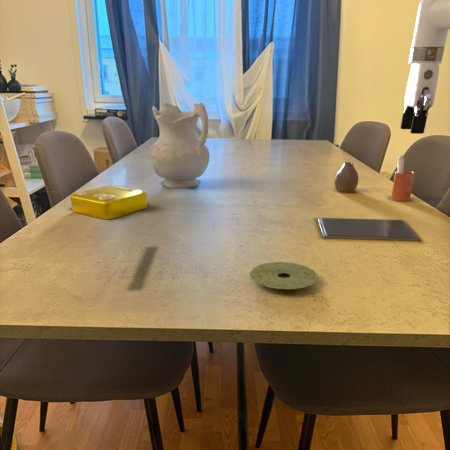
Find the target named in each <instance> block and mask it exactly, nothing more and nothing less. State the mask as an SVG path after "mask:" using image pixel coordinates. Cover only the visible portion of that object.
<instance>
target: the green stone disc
mask: <svg viewBox="0 0 450 450" xmlns="http://www.w3.org/2000/svg"><path fill="white" fill-rule="evenodd" d="M249 277H250V279H251V280H252V281H254V282H255V283H257V284H259V285H261V286H263V287H266V288H271V289H276V290H297V289H303V288H307V287H310V286H311V285H314V284H315V283H316V282H317V281H318V277H319V276H318V274H317V272H316V271H315V270H314V269H312V268H310V267H307V266H305V265H303V264H300V263H299V264H298V263H295V262H287V261H276V262H275V261H274V262H267V263H261V264H259V265H257V266H255V267H253V268H252V269H251V271H250V273H249Z"/></svg>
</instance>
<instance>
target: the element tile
mask: <svg viewBox="0 0 450 450" xmlns="http://www.w3.org/2000/svg"><path fill="white" fill-rule="evenodd" d="M69 198H70V204H71V208H72V209H71V210H72V212H73V213H76V214H81V215H85V216H89V217H93V218H98V219H100V220H101V219H102V220H114V219H117V218H120V217H123V216H127V215H130V214H132V213H133V214H134V213H136V212H139V211H142V210H145V209H147V208H148V199H147V198H148V197H147V192H146V190H141V189H137V188H129V187H126V186H118V185H112V184H108V185H103V186H100V187H96V188H92V189H88V190H84V191H80V192H75V193H72V194H70V197H69Z"/></svg>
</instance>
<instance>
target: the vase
mask: <svg viewBox="0 0 450 450" xmlns="http://www.w3.org/2000/svg"><path fill="white" fill-rule="evenodd" d="M333 182H334V188H335V190H336V192H338V193H344V194H351V193H354V192H355V191H356V189H357V188H358V185H359V174H358V171H357V169H356V168H355V166H354V163H353V162H349V161H345V162H344V163H343V164H342V166H341V167H340V168H339V169H338V171H337V172H336V173H335V177H334V181H333Z"/></svg>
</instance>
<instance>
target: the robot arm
mask: <svg viewBox="0 0 450 450" xmlns="http://www.w3.org/2000/svg"><path fill="white" fill-rule="evenodd" d="M449 30H450V0H420V2H419V4H418V8H417V14H416V19H415V25H414V30H413V31H414V32H413V37H412V41H411V47H410V54H409V58H408V64H411V65H410V66H411V67H410V70H409V75H408V79H407V83H406V90H405V94H404V100H403V101H404V108H403V111H402V116H401V122H400V130H410V134H416V135H419V134H421V135H422V134H424V133H425V129H426V125H427V121H428V120H427V119H428V116H429V110H430V108H432V107H433V106H434V103H435V99H436V93H437V87H438V86H437V85H438V80H439V72H440V64H442V62H443V56H444V52H445V47H446V43H447V37H448V33H449Z"/></svg>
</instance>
